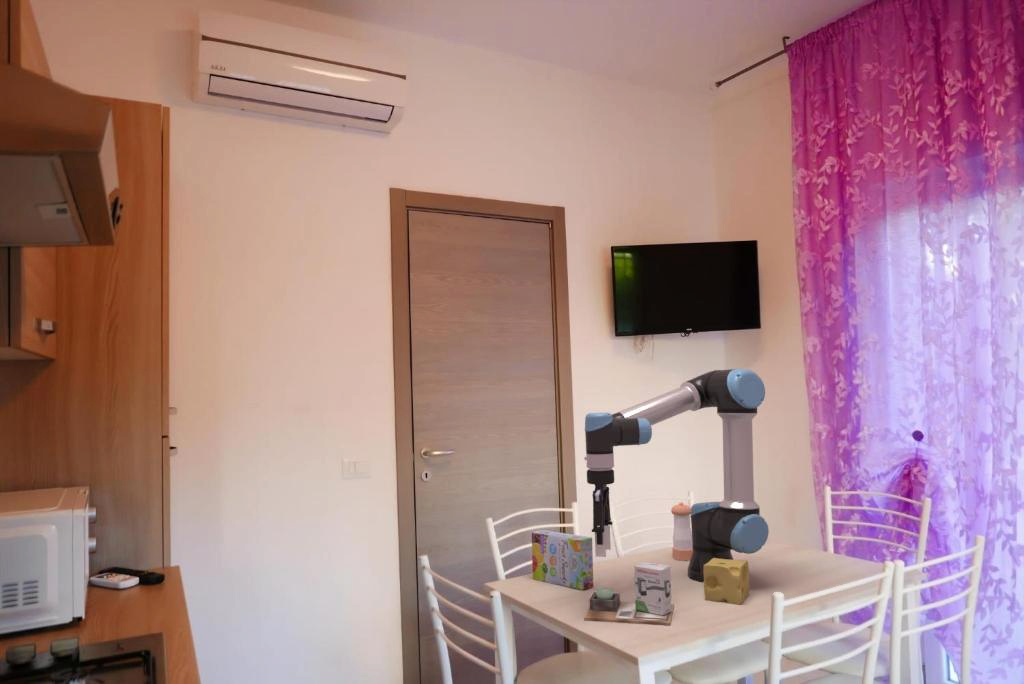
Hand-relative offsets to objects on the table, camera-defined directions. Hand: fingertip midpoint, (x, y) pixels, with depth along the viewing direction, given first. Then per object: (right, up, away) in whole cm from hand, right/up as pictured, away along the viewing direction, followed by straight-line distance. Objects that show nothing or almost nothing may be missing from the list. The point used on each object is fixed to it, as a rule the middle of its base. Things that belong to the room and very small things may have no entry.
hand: (603, 552), depth 197 cm
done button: (0, -13, -1) cm, 13 cm away
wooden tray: (+7, -15, -5) cm, 17 cm away
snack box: (-9, -18, +27) cm, 33 cm away
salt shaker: (+35, -18, +54) cm, 66 cm away
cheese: (+36, -15, +7) cm, 39 cm away
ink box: (+13, -14, -6) cm, 20 cm away
